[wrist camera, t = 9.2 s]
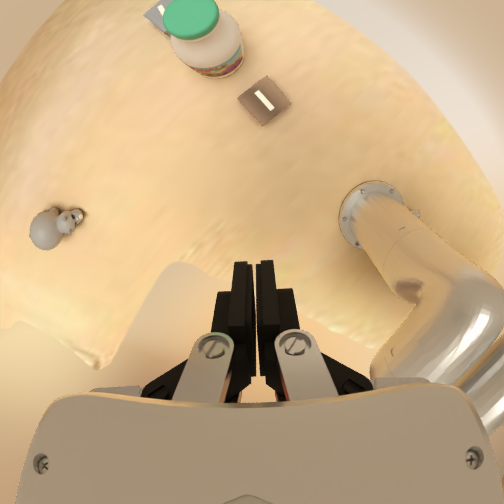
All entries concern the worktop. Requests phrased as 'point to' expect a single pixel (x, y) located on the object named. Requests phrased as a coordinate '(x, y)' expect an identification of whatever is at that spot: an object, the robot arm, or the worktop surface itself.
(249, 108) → the walnut block
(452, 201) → the worktop surface
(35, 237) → the chubby cartoon animal
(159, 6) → the slate grey block
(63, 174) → the worktop surface
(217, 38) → the milk bottle
